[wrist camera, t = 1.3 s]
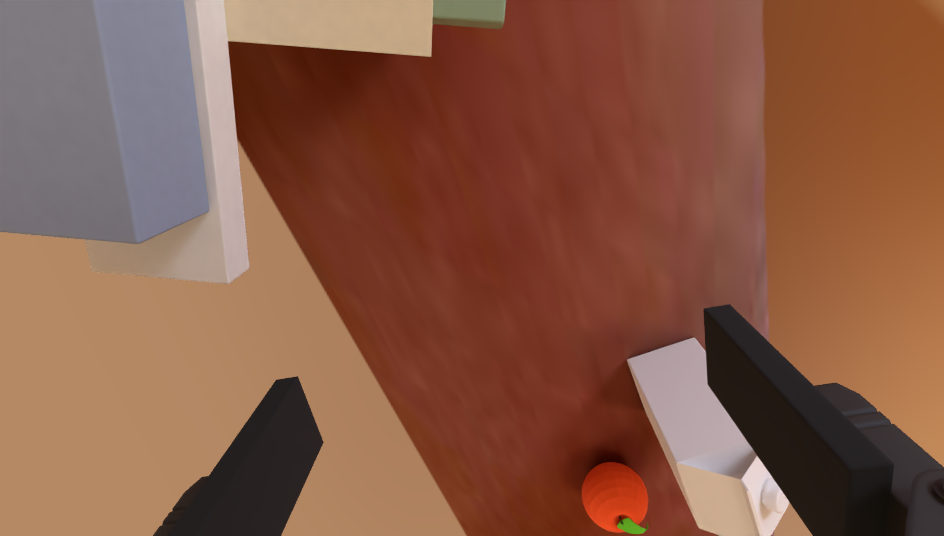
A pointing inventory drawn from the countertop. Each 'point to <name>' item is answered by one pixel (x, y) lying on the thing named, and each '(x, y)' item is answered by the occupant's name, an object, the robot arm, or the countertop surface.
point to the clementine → (615, 498)
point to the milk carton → (705, 444)
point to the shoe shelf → (356, 22)
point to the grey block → (123, 134)
